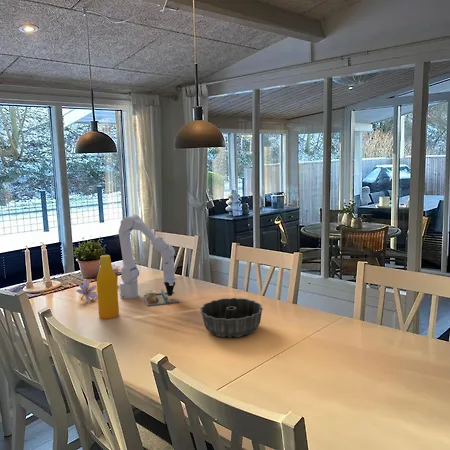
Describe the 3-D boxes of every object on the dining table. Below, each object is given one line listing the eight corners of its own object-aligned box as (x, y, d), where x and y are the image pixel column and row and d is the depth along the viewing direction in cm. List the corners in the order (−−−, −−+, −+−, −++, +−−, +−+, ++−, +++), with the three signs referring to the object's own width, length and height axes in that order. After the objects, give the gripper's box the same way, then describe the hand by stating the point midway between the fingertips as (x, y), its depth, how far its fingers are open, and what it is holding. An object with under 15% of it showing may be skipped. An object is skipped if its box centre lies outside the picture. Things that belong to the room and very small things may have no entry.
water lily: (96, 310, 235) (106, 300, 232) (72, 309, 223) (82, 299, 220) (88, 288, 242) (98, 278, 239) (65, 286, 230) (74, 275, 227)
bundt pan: (208, 346, 170) (208, 322, 169) (195, 322, 195) (194, 301, 194) (272, 338, 177) (272, 314, 176) (251, 316, 202) (250, 295, 201)
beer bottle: (113, 319, 201) (110, 258, 197) (95, 318, 203) (91, 257, 199) (122, 313, 210) (118, 253, 206) (104, 312, 212) (100, 253, 208)
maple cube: (147, 302, 223) (146, 293, 222) (146, 299, 227) (145, 291, 226) (156, 301, 224) (155, 292, 223) (155, 298, 228) (154, 290, 227)
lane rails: (147, 308, 216) (147, 305, 216) (144, 297, 233) (144, 294, 233) (179, 304, 220) (179, 301, 220) (174, 294, 237) (173, 291, 237)
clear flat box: (145, 307, 217) (145, 299, 217) (142, 298, 232) (142, 291, 231) (167, 304, 220) (167, 297, 220) (163, 296, 234) (163, 289, 234)
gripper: (178, 272, 220) (179, 298, 222) (174, 266, 234) (175, 290, 236) (164, 273, 218) (166, 300, 220) (161, 267, 232) (162, 292, 234)
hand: (169, 295), depth 228 cm, fingers closed
